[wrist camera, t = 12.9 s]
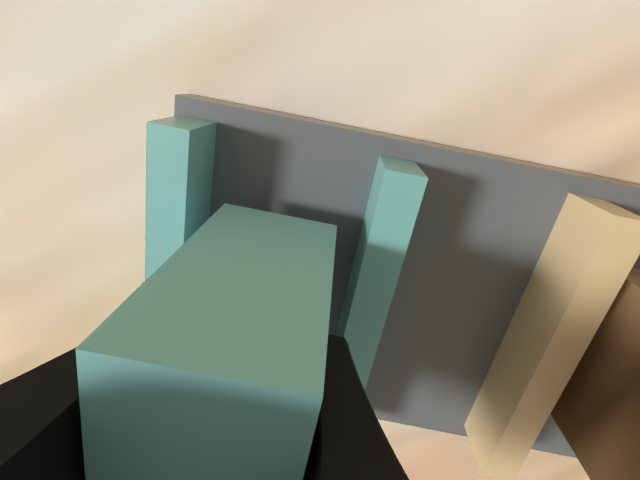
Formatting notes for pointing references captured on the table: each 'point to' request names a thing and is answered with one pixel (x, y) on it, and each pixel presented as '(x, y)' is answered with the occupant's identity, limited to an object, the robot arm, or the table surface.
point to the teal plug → (214, 357)
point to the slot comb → (419, 259)
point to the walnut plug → (607, 393)
